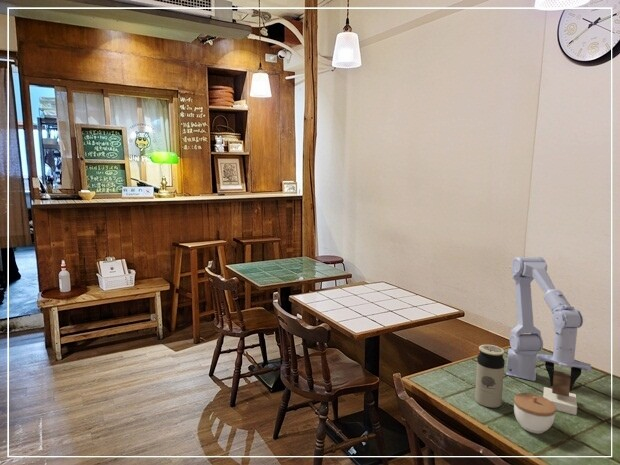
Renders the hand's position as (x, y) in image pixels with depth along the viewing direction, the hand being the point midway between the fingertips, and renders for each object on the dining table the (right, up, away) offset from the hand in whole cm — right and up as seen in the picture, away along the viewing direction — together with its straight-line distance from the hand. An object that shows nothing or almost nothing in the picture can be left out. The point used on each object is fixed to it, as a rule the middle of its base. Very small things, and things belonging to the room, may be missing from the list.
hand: (560, 386), depth 130 cm
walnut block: (0, -2, +1) cm, 2 cm away
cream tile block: (0, -6, +1) cm, 6 cm away
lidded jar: (-15, -8, -12) cm, 21 cm away
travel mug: (-23, -6, +2) cm, 23 cm away
